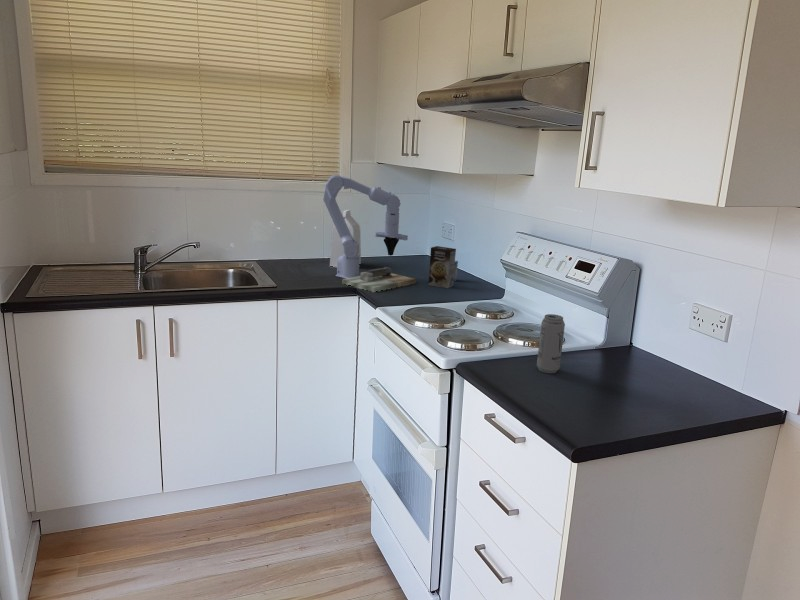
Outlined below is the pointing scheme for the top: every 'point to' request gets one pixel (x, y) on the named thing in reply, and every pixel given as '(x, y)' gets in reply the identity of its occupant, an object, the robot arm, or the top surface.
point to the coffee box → (442, 266)
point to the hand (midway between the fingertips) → (390, 255)
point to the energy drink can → (550, 343)
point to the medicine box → (455, 271)
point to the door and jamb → (378, 281)
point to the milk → (336, 242)
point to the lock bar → (380, 271)
